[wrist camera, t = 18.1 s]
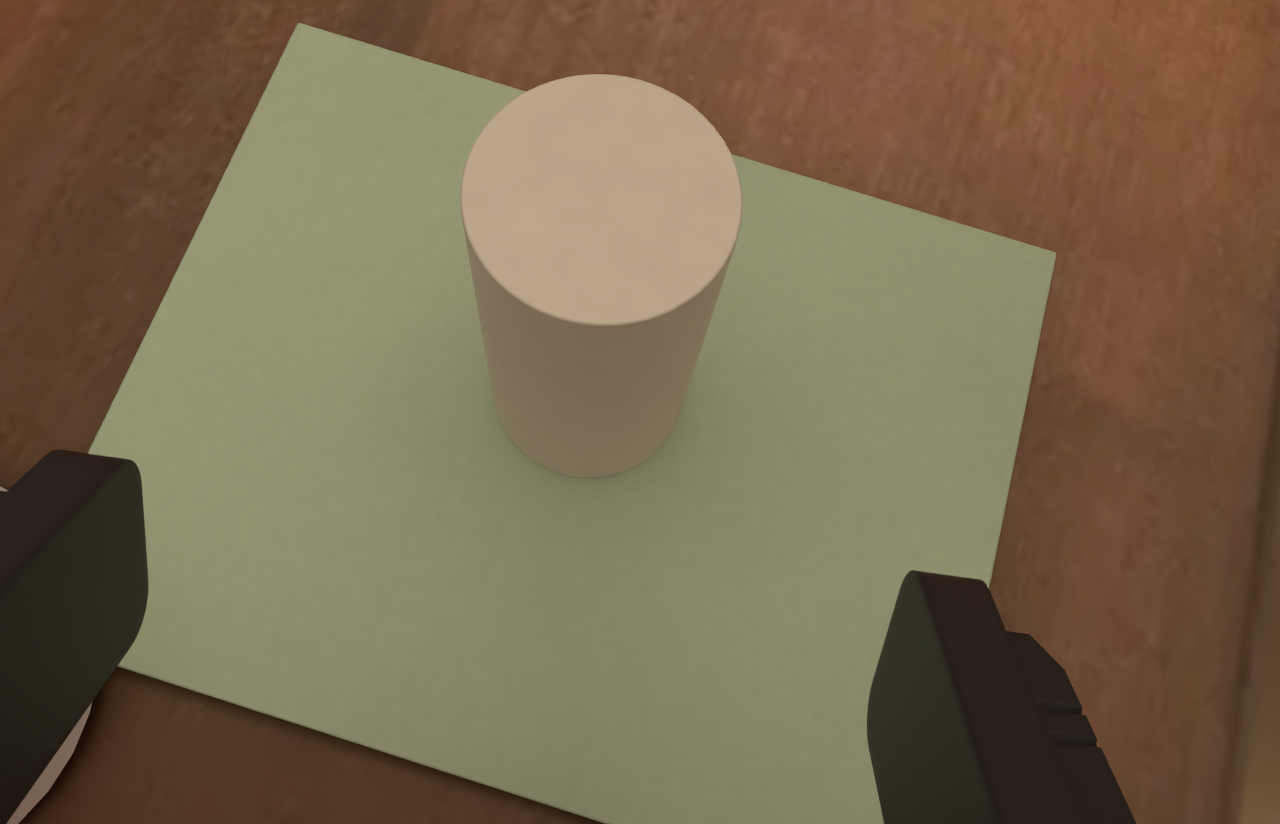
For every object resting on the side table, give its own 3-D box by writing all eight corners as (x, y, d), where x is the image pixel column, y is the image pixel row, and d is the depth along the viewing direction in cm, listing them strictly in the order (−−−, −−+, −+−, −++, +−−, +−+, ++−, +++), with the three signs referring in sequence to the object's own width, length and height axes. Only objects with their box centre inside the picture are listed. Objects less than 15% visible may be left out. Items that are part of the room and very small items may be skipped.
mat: (1047, 262, 28) (1057, 251, 28) (913, 922, 23) (922, 925, 23) (302, 35, 29) (297, 20, 28) (13, 632, 24) (0, 628, 23)
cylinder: (705, 330, 27) (774, 119, 18) (652, 503, 25) (699, 362, 17) (528, 276, 27) (514, 40, 18) (465, 445, 25) (418, 275, 17)
